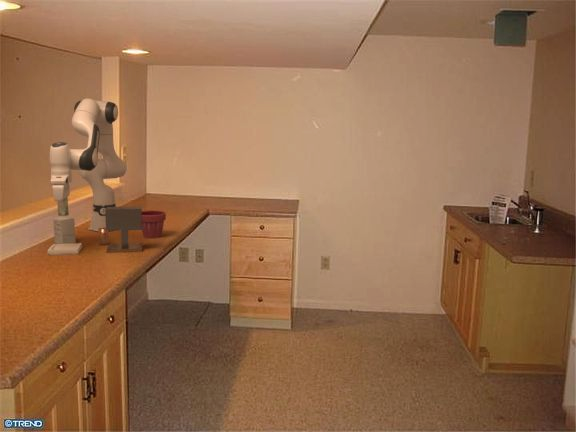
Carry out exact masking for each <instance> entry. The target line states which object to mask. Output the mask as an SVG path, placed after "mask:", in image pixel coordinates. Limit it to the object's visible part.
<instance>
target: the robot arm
mask: <svg viewBox="0 0 576 432" xmlns="http://www.w3.org/2000/svg"><path fill="white" fill-rule="evenodd" d="M118 116H119V108H118V106H117V104H116V103H115V102H112V101H104V100H94V99H92V98H88V97H87V98H84V99H82V100H78V101H77V102H76V103H75V104H74V108H73V115H72V118H71V126H72V128H73V130H74V131H75V132H77V134H79V135H81V136H84V137H86V138H88V141H87V145H86V148H82V149H81V148H79V149H78V148H77V149H76V148H70V147H69V144H68V142H63V141H60V142H54V143H52V144H51V145H50V148H49V164H50V185H51V186H52V196H53V200H54V202H57V201H58V203H59V208H60V210H63V209H64V200H65V199H66V198H68V197H70V194H71V191H70V183H72V181H73V180H72V179H73V178H72V171H74V170H75V171H76V170H77V171H78V175H79V176H80V177H81V178H82V179H83V180H85V181H86V182H87V183H88V184H89V186H90V188H91V190H92V196H93V204H92V211H93V212H92V213H91V214H90V226H88V227H87V230H88V231H94V232H98V229H99V228H106V218H105V209H106V207H117V205H116V202H115V199H116V198H115V197H116V196H115V190H114V188H113V187H111V186H109V185H107V184H105V182H104V180H109V179H110V180H111V179H118V178H121V177H124V176H125V175H126V173H127V164H126V163H125V161H124V160H123V159H121V157H120V156H118V154H117V152H116V150H115V147H114V127H113V126H114V125H113V123H114V122H116V120H117V119H118ZM98 154H101V156H102V158H99V157H98ZM58 203H57V204H58Z"/></svg>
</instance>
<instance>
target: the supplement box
mask: <svg viewBox="0 0 576 432" xmlns="http://www.w3.org/2000/svg"><path fill="white" fill-rule="evenodd" d="M75 226H76V225H75V218H74V217H72V216H71V217H70V216H59V217H54V218H53V233H54V234H53V235H54V244H71V243H77V242H76V228H75Z"/></svg>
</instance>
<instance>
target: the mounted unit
mask: <svg viewBox="0 0 576 432" xmlns="http://www.w3.org/2000/svg"><path fill="white" fill-rule="evenodd" d="M142 210H143V207H142V206H141V205H138V206H137V205H134V206H133V205H132V206H129V205H127V206H116V207H106V209H105V218H106V231H108V232H112V231H113V232H114V231H116V232H117V231H120V236H121V238H120V239H121V243H109V244H108V245H107V248H106V254H108V253H109V254H115V253H139V252H140V253H141V251H142V252H143V250H142V249H144V243H143V242H129V231H142Z"/></svg>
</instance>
